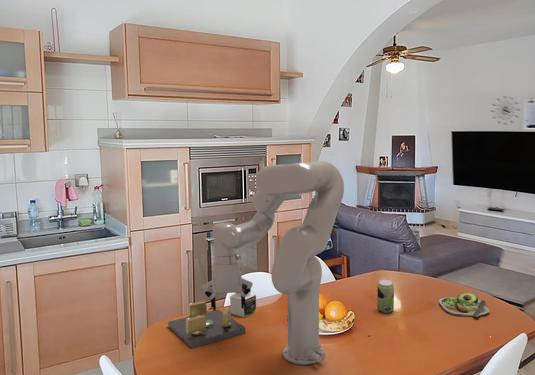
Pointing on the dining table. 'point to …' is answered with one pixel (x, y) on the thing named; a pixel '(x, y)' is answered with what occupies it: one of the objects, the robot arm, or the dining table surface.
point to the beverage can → (385, 296)
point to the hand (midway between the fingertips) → (228, 308)
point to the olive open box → (197, 309)
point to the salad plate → (465, 305)
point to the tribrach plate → (207, 330)
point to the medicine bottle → (248, 308)
